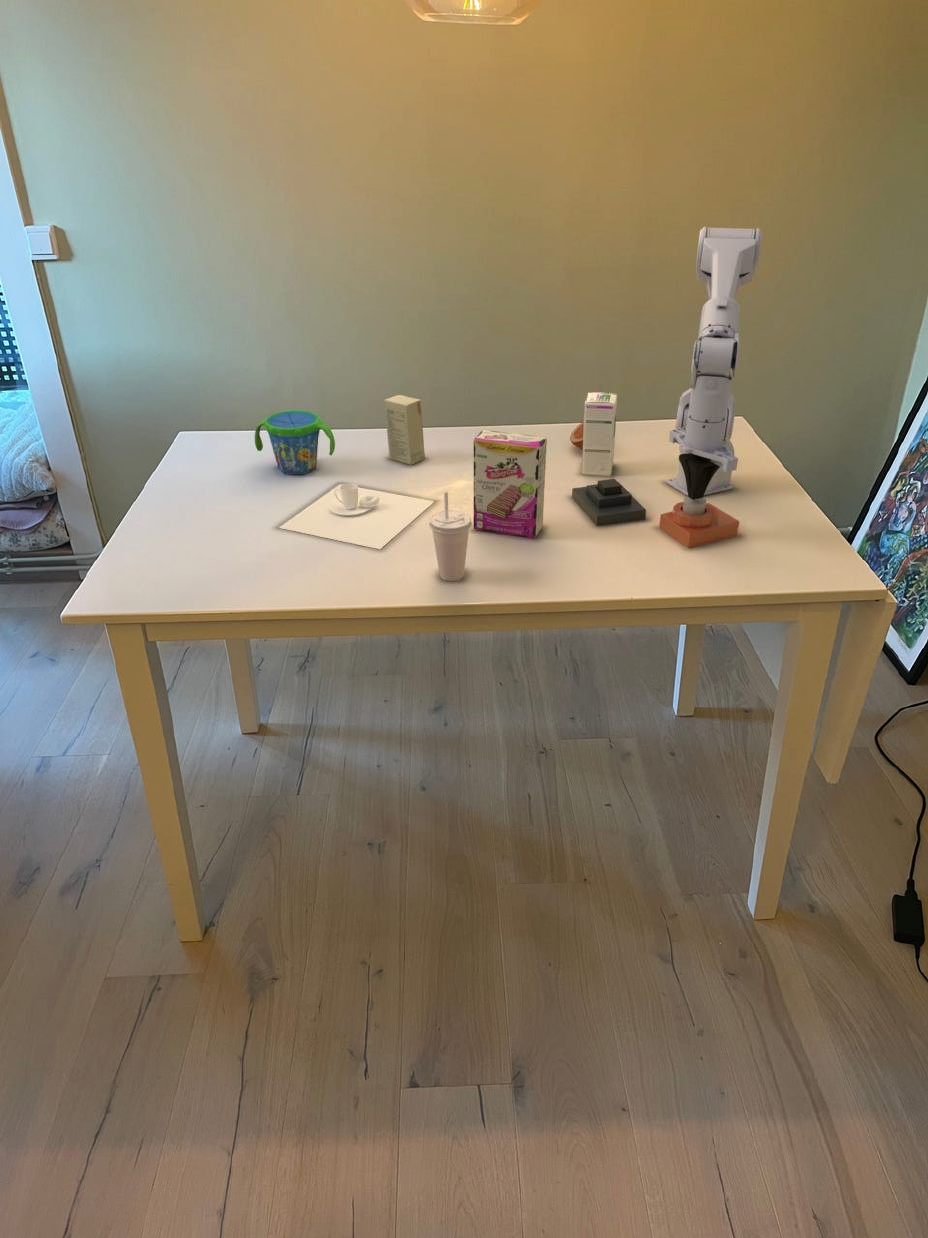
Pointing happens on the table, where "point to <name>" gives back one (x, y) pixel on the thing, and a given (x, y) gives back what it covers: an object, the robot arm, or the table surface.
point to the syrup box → (599, 433)
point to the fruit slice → (578, 436)
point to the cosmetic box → (404, 429)
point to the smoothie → (450, 540)
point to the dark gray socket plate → (608, 505)
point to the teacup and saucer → (358, 515)
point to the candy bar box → (509, 483)
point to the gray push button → (694, 506)
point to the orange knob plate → (698, 525)
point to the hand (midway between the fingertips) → (695, 497)
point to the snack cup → (294, 439)
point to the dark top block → (609, 487)
